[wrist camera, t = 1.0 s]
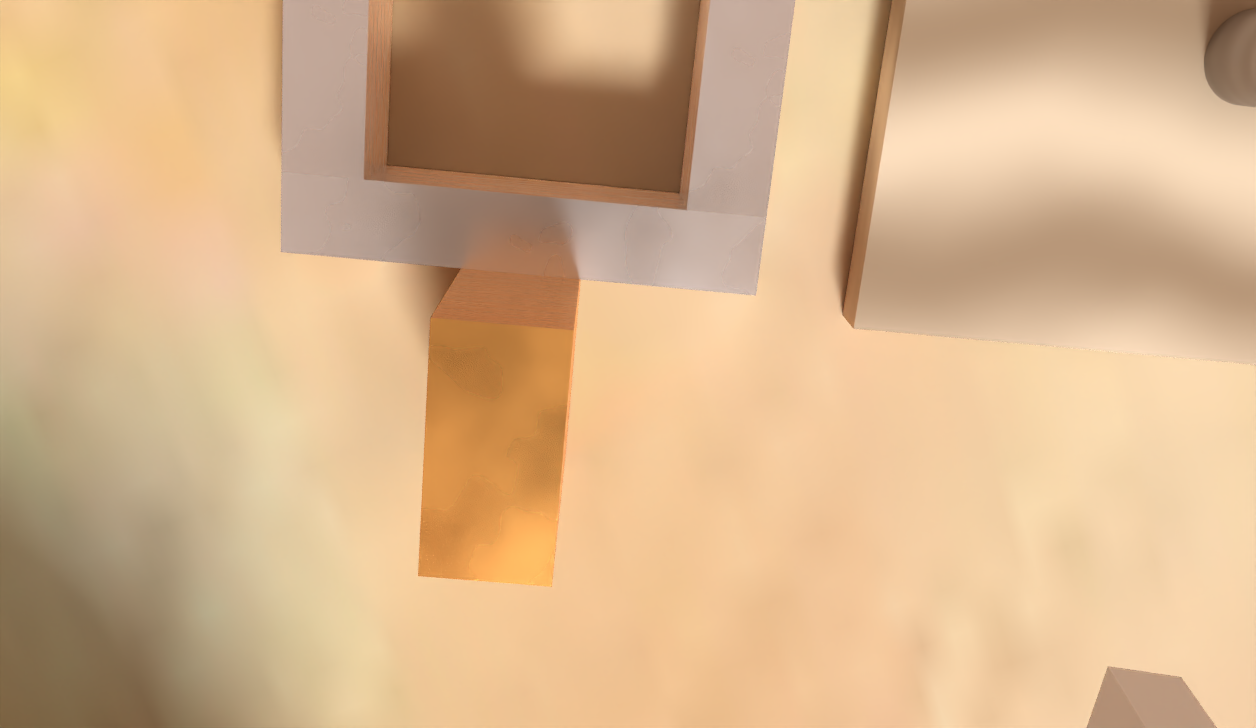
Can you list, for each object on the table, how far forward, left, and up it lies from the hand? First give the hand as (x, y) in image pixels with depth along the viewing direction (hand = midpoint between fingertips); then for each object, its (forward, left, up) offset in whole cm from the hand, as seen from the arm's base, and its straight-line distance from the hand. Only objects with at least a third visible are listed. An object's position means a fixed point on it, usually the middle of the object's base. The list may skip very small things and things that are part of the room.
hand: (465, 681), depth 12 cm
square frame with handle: (+4, +1, -20) cm, 21 cm away
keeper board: (+8, -17, -20) cm, 28 cm away
